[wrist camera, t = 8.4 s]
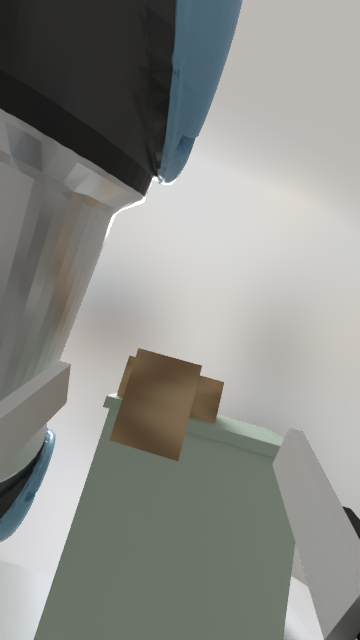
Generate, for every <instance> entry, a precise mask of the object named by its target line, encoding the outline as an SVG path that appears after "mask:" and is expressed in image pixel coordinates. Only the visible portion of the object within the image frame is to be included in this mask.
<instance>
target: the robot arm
mask: <svg viewBox="0 0 360 640" xmlns="http://www.w3.org/2000/svg"><path fill="white" fill-rule="evenodd" d="M241 4H242V0H0V542H2V541H4V540H5V539H7V538H8V537H10V536H11V535H12V534H13V533H14V532H15V531H16V529H17V528H18V527H19V526H20V524H21V523H22V521H23V519H24V518H25V516H26V514H27V512H28V510H29V509H30V507H31V505H32V502H33V500H34V497H35V493H36V492H37V491H38V489H39V487H40V485H41V483H42V481H43V478H44V475H45V473H46V471H47V468H48V465H49V462H50V459H51V456H52V453H53V448H54V444H55V434H54V432H53V431H52V430H50V429H48V428H47V426H46V425H47V424H46V423H47V422H48V421H49V420H50V419H51V418H52V417H53V416H54V415H55V414H56V413H57V411H58V410H60V409H61V407H63V406H64V404H65V403H66V401H67V392H68V383H69V375H70V366H71V364H68V363H65V362H61V361H59V360H60V357H61V355H62V352H63V350H64V347H65V344H66V342H67V339H68V337H69V334H70V331H71V329H72V326H73V323H74V321H75V318H76V315H77V313H78V310H79V308H80V305H81V302H82V300H83V297H84V295H85V292H86V289H87V287H88V284H89V282H90V279H91V276H92V274H93V271H94V269H95V266H96V264H97V261H98V258H99V256H100V253H101V250H102V248H103V245H104V243H105V240H106V238H107V235H108V232H109V230H110V227H111V225H112V222H113V219H114V217H115V215H116V214H117V213H118V212H119V211H121V210H123V209H126V208H129V207H131V206H134V205H137V204H140V203H143V202H144V200H145V197H146V195H147V193H148V190H149V188H150V185H151V183H152V181H153V179H154V180H155V181H157V182H158V183H159V184H166V185H170V184H172V183H173V182H174V181H175V180H176V179H177V178H178V176H179V175H180V173H181V171H182V170H183V168H184V166H185V164H186V162H187V160H188V158H189V155H190V152H191V150H192V147H193V144H194V141H195V138H196V137H197V136H198V135H199V132H200V130H201V128H202V126H203V124H204V121H205V119H206V116H207V114H208V111H209V108H210V106H211V103H212V100H213V97H214V94H215V92H216V89H217V86H218V83H219V80H220V77H221V74H222V71H223V68H224V65H225V62H226V59H227V56H228V53H229V50H230V46H231V43H232V39H233V36H234V33H235V29H236V25H237V21H238V17H239V13H240V9H241ZM272 465H273V469H274V472H275V475H276V479H277V482H278V486H279V489H280V492H281V496H282V499H283V502H284V506H285V509H286V513H287V516H288V519H289V523H290V526H291V529H292V533H293V536H294V540H295V543H296V546H297V550H298V553H299V556H300V560H301V563H302V567H303V570H304V573H305V577H306V580H307V583H308V587H309V590H310V594H311V597H312V600H313V604H314V607H315V611H316V614H317V617H318V621H319V624H320V627H321V631H322V634H323V638H324V640H355V639H356V638H357V639H358V640H360V519H359V518H358V517H357V516H356V515H355V513H354V512H353V511H352V510H351V509H349V508H346V507H343V506H342V505H341V503H340V501H339V499H338V498H337V496H336V494H335V492H334V490H333V488H332V486H331V484H330V483H329V480H328V479H327V477H326V475H325V473H324V471H323V469H322V467H321V465H320V463H319V461H318V460H317V458H316V456H315V454H314V452H313V450H312V448H311V446H310V444H309V442H308V440H307V439H306V437H305V435H304V433H303V432H302V431H298V430H295V429H292V428H289V430H288V432H287V434H286V436H285V438H284V440H283V443H282V445H281V447H280V449H279V451H278V453H277V455H276V458H275V460H274V462H273V464H272Z"/></svg>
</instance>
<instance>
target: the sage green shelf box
mask: <svg viewBox="0 0 360 640" xmlns="http://www.w3.org/2000/svg"><path fill="white" fill-rule="evenodd" d="M122 399H123V397H122V396H119V395H117V393H114V394H110V395H107V397H106V400H105V403H104V406H103V407H106V408H109V413H108V415H107V418H106V421H105V424H104V427H103V430H102V433H101V437H100V439H99V443H98V446H97V449H96V452H95V455H94V458H93V461H92V464H91V467H90V470H89V473H88V476H87V479H86V482H85V485H84V488H83V491H82V494H81V497H80V500H79V503H78V506H77V509H76V513H75V516H74V519H73V522H72V525H71V528H70V531H69V534H68V537H67V540H66V543H65V546H64V549H63V552H62V555H61V558H60V561H59V564H58V567H57V570H56V573H55V576H54V579H53V583H52V586H51V589H50V592H49V595H48V598H47V601H46V604H45V607H44V610H43V613H42V616H41V619H40V622H39V625H38V628H37V631H36V634H35V637H34V640H283V633H284V625H285V618H286V610H287V602H288V594H289V587H290V579H291V571H292V564H293V556H294V548H295V540H294V536H293V533H292V529H291V526H290V523H289V519H288V516H287V513H286V509H285V506H284V502H283V499H282V496H281V492H280V489H279V486H278V482H277V479H276V475H275V472H274V469H273V465H272V464H273V462H274V460H275V458H276V455H277V453H278V451H279V449H280V447H281V445H282V443H283V440H284V438H282V437H281V436H279V435H277V434H275V433H273V432H272V431H270V430H268V429H265V428H262V427H259V426H255V425H251V424H248V423H245V422H241V421H238V420H235V419H231V418H228V417H224V416H221V415H217V417H216V421H215V424H214V423H211V422H207V421H204V420H200V419H197V418H194V417H190V416H189V420H188V424H187V428H186V432H185V436H184V440H183V444H182V448H181V452H180V456H179V460H178V461H175V460H171V459H168V458H165V457H162V456H159V455H155V454H152V453H149V452H146V451H142V450H139V449H136V448H133V447H130V446H126V445H123V444H120V443H117V442H113V441H110V440H109V439H110V436H111V433H112V430H113V427H114V424H115V421H116V417H117V414H118V411H119V408H120V405H121V402H122Z"/></svg>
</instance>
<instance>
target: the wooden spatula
mask: <svg viewBox="0 0 360 640" xmlns="http://www.w3.org/2000/svg"><path fill="white" fill-rule="evenodd" d="M201 367H202V366H201V365H197V364H193V363H190V362H186V361H182V360H179V359H175V358H172V357H168V356H164V355H161V354H157V353H154V352H150V351H147V350H143V349H138V352H137V355H136V357H132V356H129V359H128V362H127V365H126V368H125V371H124V374H123V378H122V380H121V383H120V386H119V390H118V393H117V395H119V396H122V397H123V399H122V402H121V405H120V408H119V411H118V414H117V417H116V421H115V424H114V427H113V430H112V433H111V436H110V439H109V440H110V441H113V442H117V443H120V444H123V445H126V446H130V447H133V448H136V449H139V450H142V451H146V452H149V453H152V454H155V455H159V456H162V457H165V458H168V459H171V460H175V461H178V460H179V456H180V452H181V448H182V444H183V440H184V436H185V432H186V428H187V424H188V420H189V416H190V417H194V418H197V419H200V420H204V421H207V422H211V423H214V424H215V421H216V417H217V412H218V407H219V403H220V399H221V394H222V390H223V385H224V382H221V381H218V380H214V379H211V378H207V377H203V376H200V372H201Z"/></svg>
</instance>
